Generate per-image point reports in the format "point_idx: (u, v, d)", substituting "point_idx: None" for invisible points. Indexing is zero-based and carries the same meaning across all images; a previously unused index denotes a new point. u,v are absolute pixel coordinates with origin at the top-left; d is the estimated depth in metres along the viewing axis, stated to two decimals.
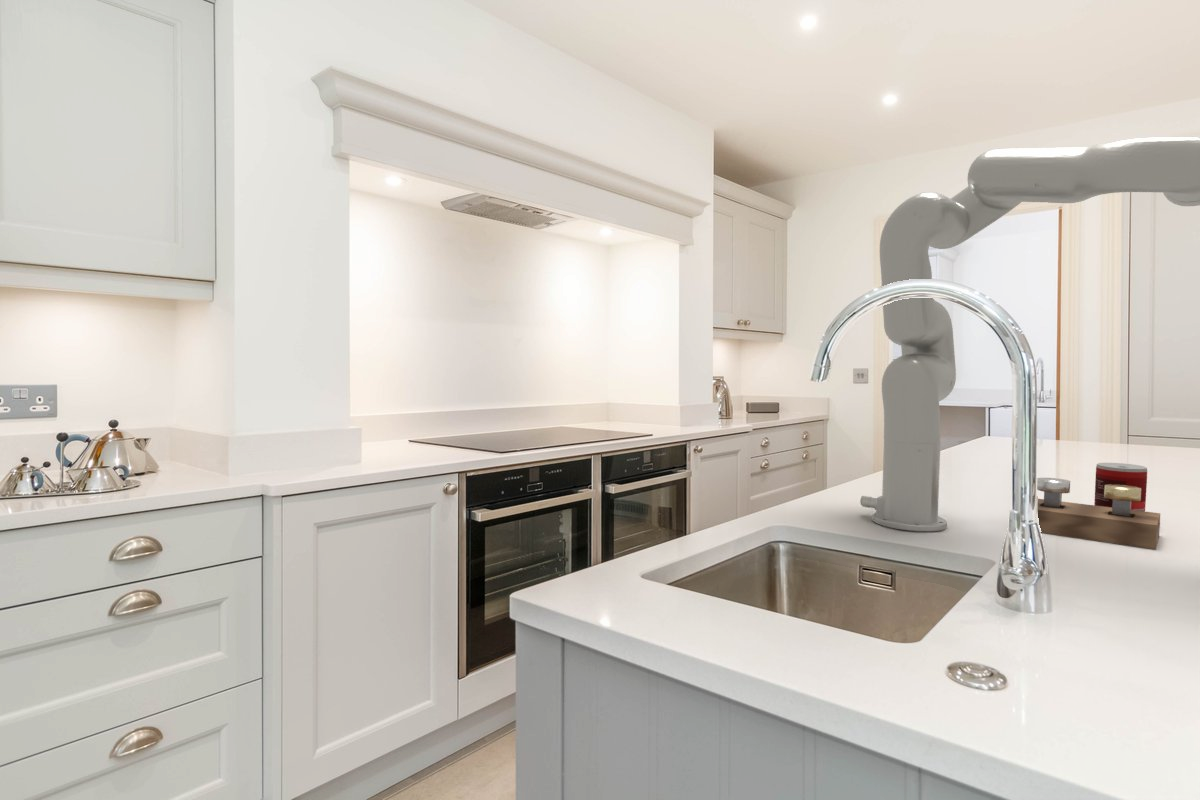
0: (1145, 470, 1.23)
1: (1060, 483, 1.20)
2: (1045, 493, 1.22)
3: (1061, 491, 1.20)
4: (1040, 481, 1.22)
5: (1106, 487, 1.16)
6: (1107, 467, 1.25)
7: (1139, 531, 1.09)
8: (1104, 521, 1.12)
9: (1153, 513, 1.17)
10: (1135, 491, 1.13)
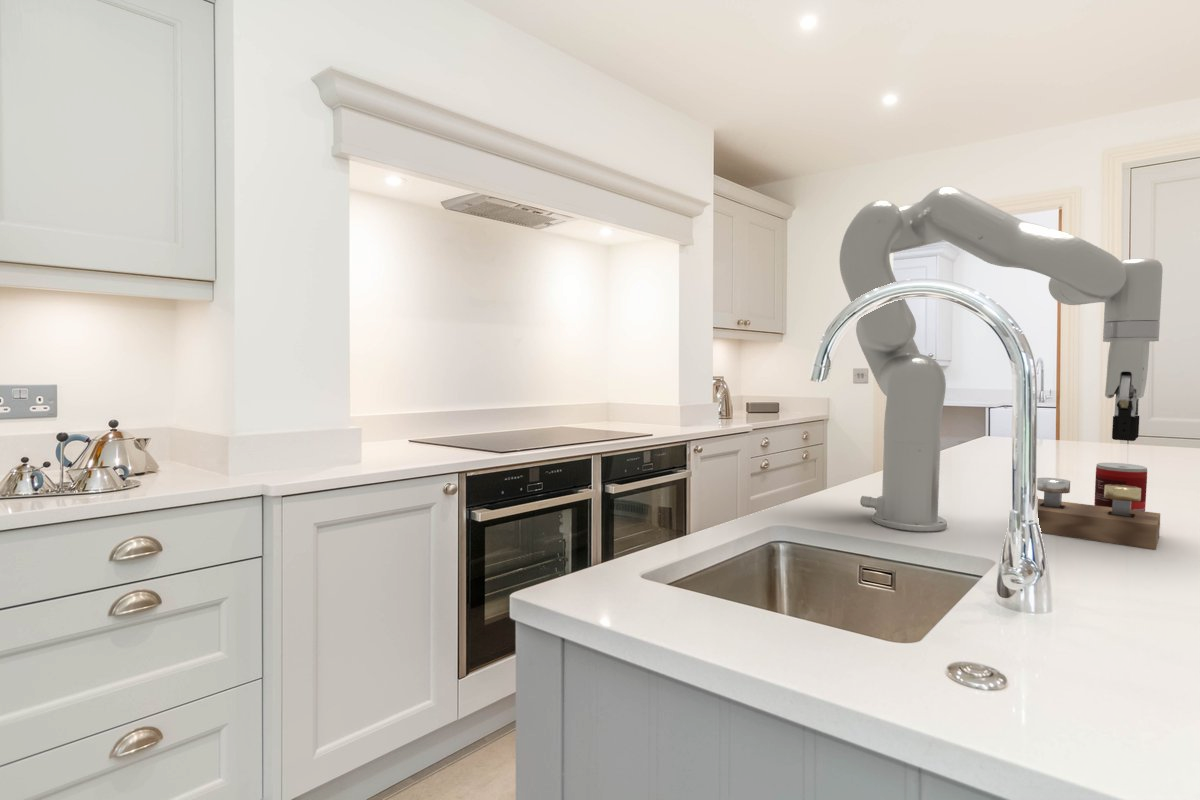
0: (1145, 470, 1.23)
1: (1060, 483, 1.20)
2: (1045, 493, 1.22)
3: (1061, 491, 1.20)
4: (1040, 481, 1.22)
5: (1106, 487, 1.16)
6: (1107, 467, 1.25)
7: (1139, 531, 1.09)
8: (1104, 521, 1.12)
9: (1153, 513, 1.17)
10: (1135, 491, 1.13)
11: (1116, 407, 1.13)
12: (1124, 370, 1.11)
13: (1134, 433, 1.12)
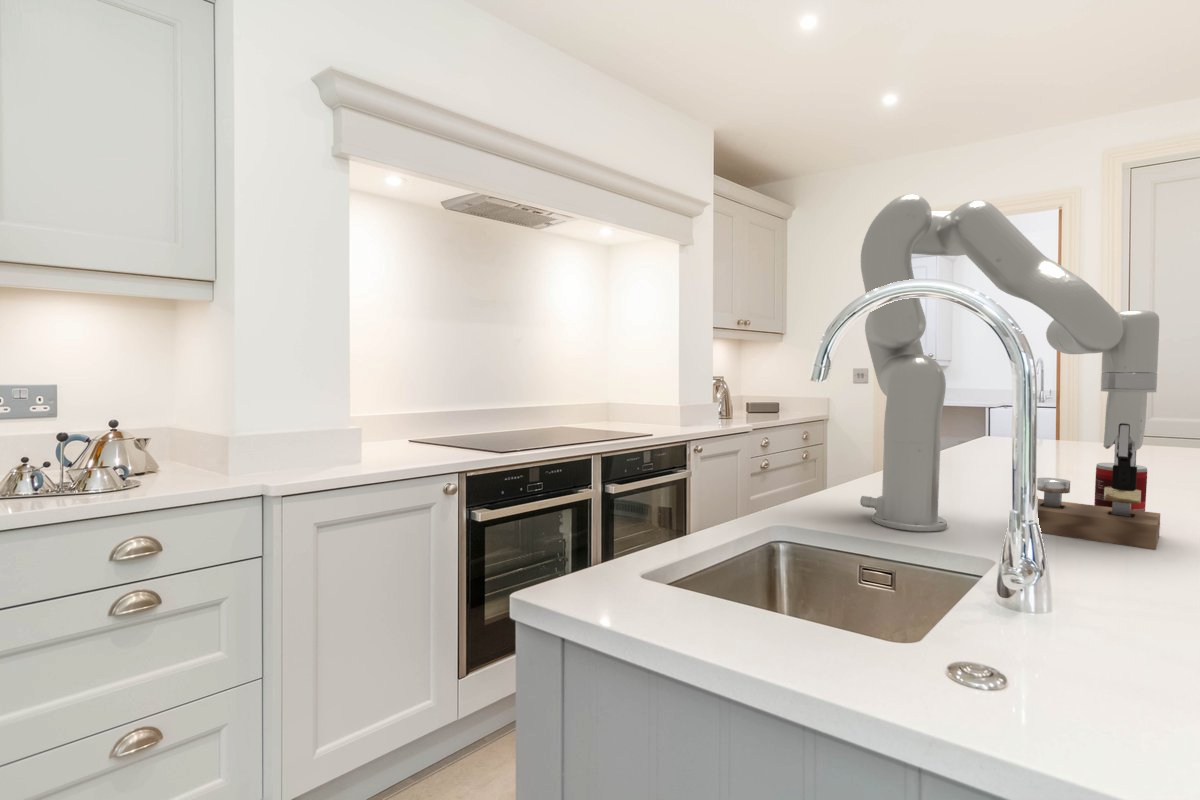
0: (1145, 470, 1.23)
1: (1060, 483, 1.20)
2: (1045, 493, 1.22)
3: (1061, 491, 1.20)
4: (1040, 481, 1.22)
5: (1106, 489, 1.16)
6: (1107, 467, 1.25)
7: (1139, 531, 1.09)
8: (1104, 521, 1.12)
9: (1153, 513, 1.17)
10: (1135, 494, 1.13)
11: (1115, 459, 1.14)
12: (1122, 421, 1.11)
13: (1134, 483, 1.14)
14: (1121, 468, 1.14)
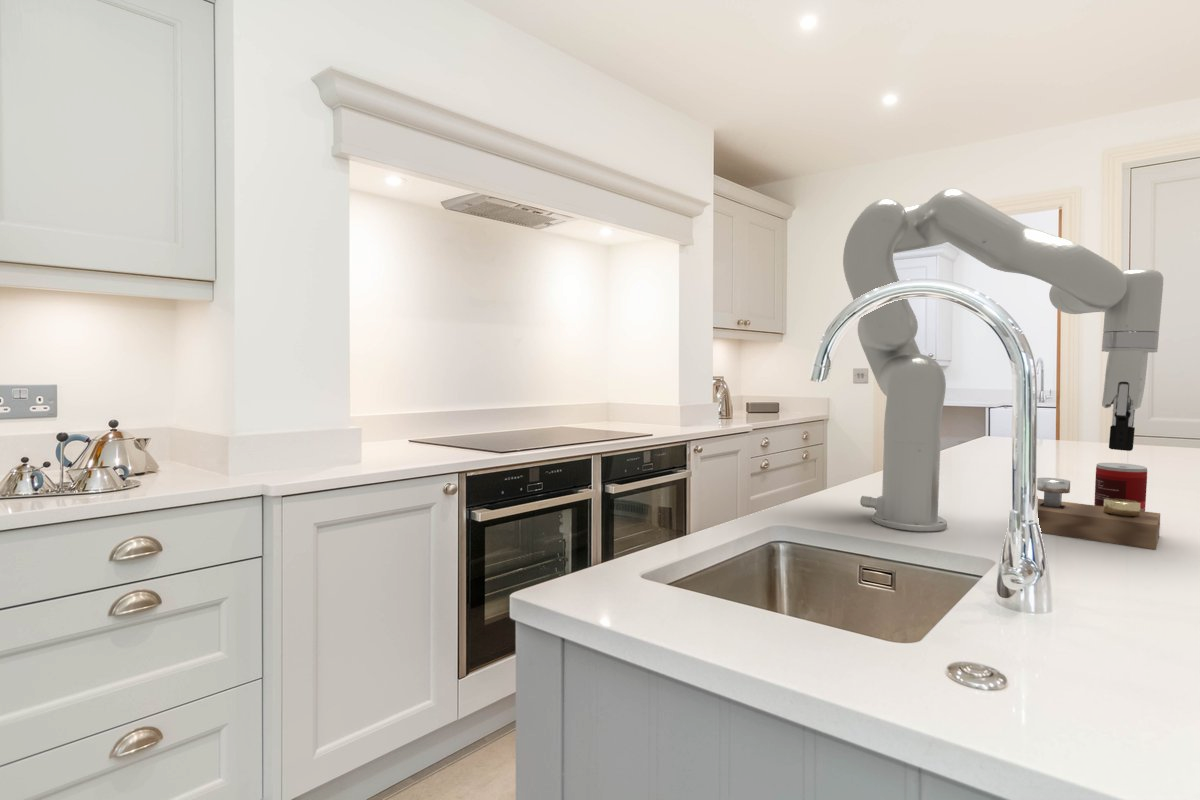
0: (1145, 470, 1.23)
1: (1060, 483, 1.20)
2: (1045, 493, 1.22)
3: (1061, 491, 1.20)
4: (1040, 481, 1.22)
5: (1105, 501, 1.16)
6: (1107, 467, 1.25)
7: (1139, 531, 1.09)
8: (1104, 521, 1.12)
9: (1153, 513, 1.17)
10: (1134, 506, 1.13)
11: (1113, 418, 1.14)
12: (1122, 380, 1.11)
13: (1131, 443, 1.14)
14: (1119, 428, 1.14)
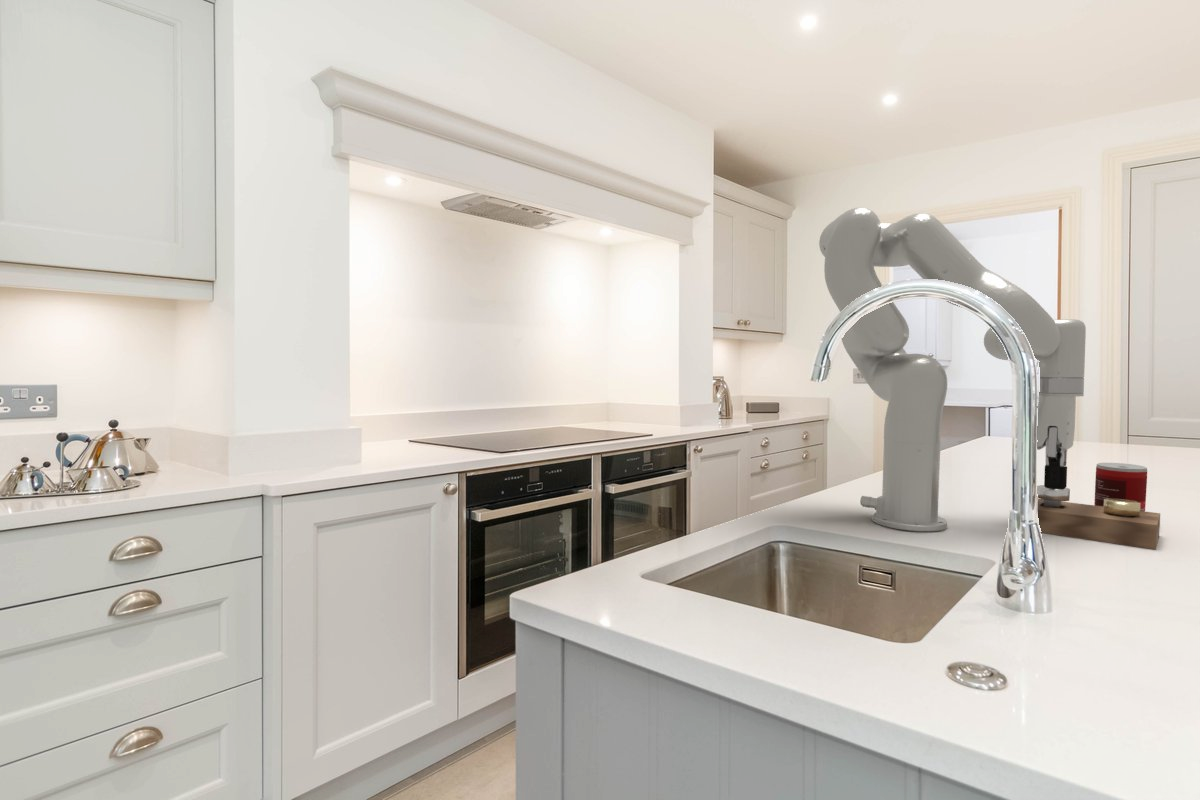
0: (1145, 470, 1.23)
1: (1060, 491, 1.20)
2: (1045, 501, 1.22)
3: (1061, 499, 1.20)
4: (1040, 489, 1.22)
5: (1105, 501, 1.16)
6: (1107, 467, 1.25)
7: (1139, 531, 1.09)
8: (1104, 521, 1.12)
9: (1153, 513, 1.17)
10: (1134, 506, 1.13)
11: (1046, 459, 1.21)
12: (1051, 424, 1.18)
13: (1063, 482, 1.21)
14: (1052, 468, 1.21)
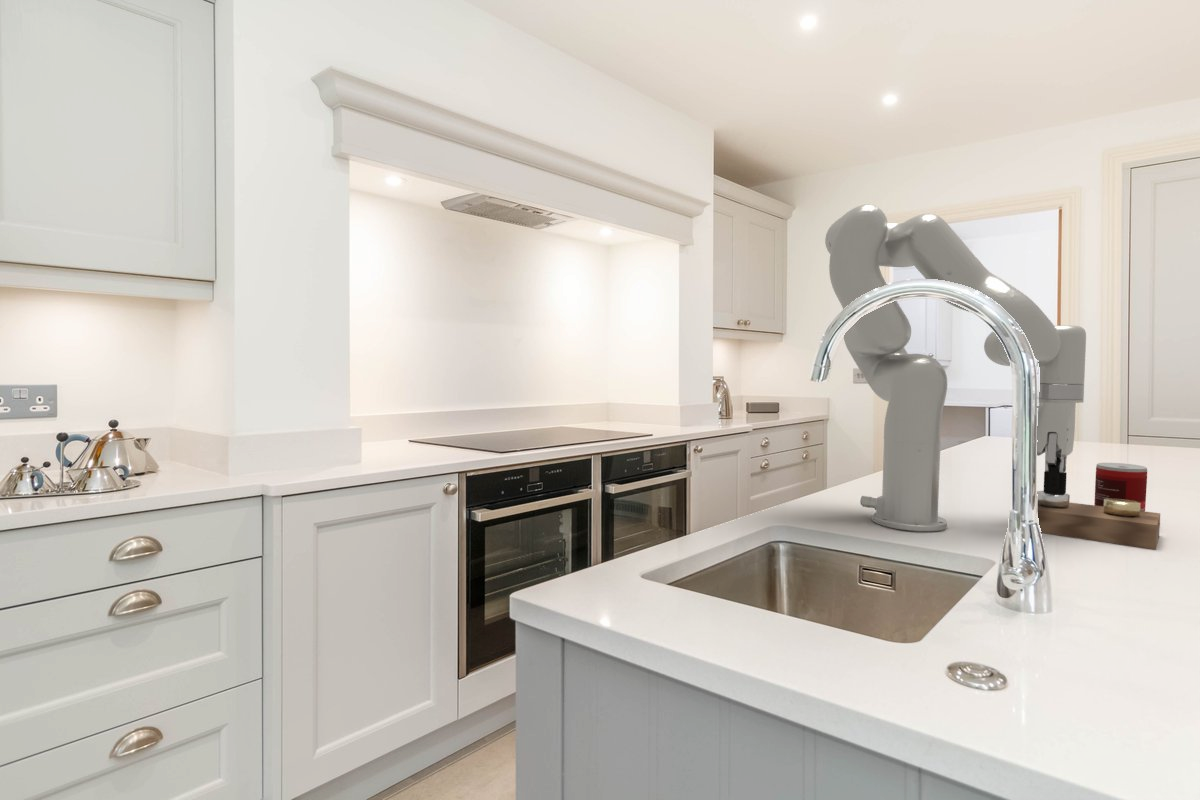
0: (1145, 470, 1.23)
1: (1059, 497, 1.20)
2: None
3: (1060, 505, 1.20)
4: (1039, 495, 1.22)
5: (1105, 501, 1.16)
6: (1107, 467, 1.25)
7: (1139, 531, 1.09)
8: (1104, 521, 1.12)
9: (1153, 513, 1.17)
10: (1134, 506, 1.13)
11: (1046, 465, 1.21)
12: (1051, 430, 1.18)
13: (1063, 488, 1.21)
14: (1051, 474, 1.21)
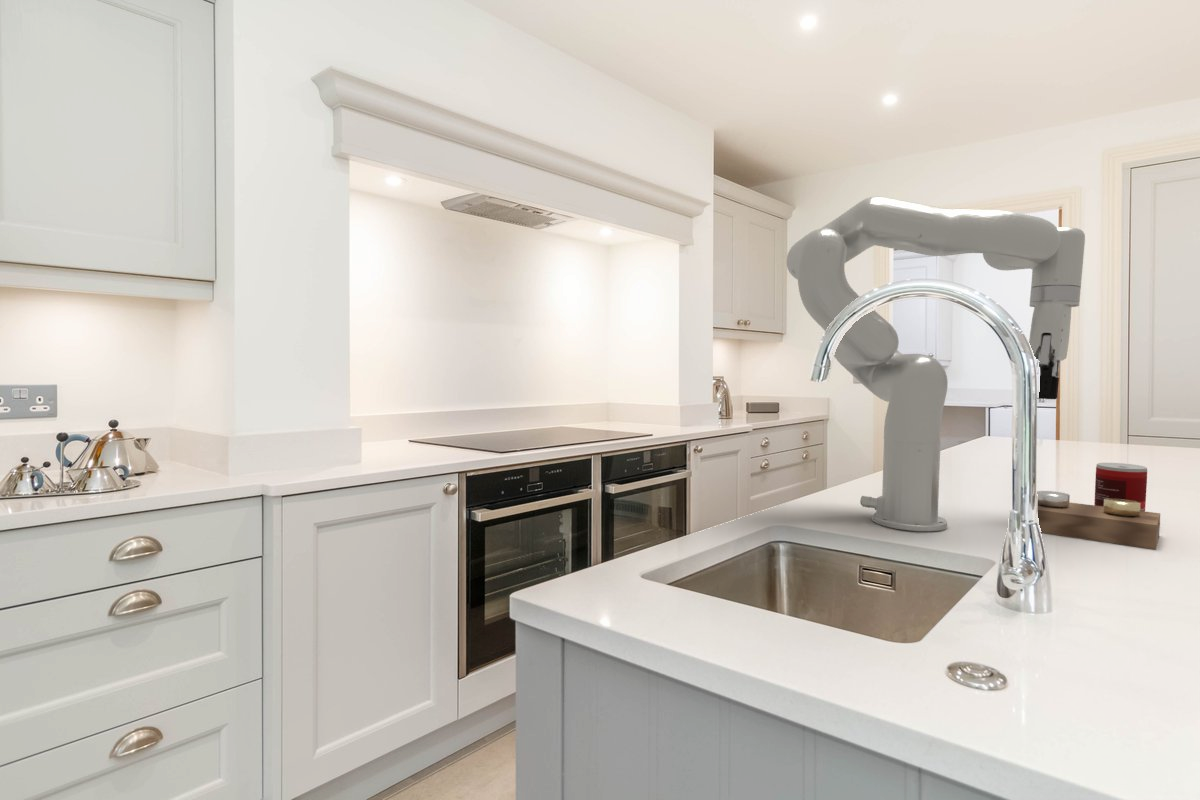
0: (1145, 470, 1.23)
1: (1059, 497, 1.20)
2: None
3: (1060, 505, 1.20)
4: (1039, 495, 1.22)
5: (1105, 501, 1.16)
6: (1107, 467, 1.25)
7: (1139, 531, 1.09)
8: (1104, 521, 1.12)
9: (1153, 513, 1.17)
10: (1134, 506, 1.13)
11: None
12: (1045, 331, 1.18)
13: (1054, 392, 1.20)
14: (1043, 378, 1.21)
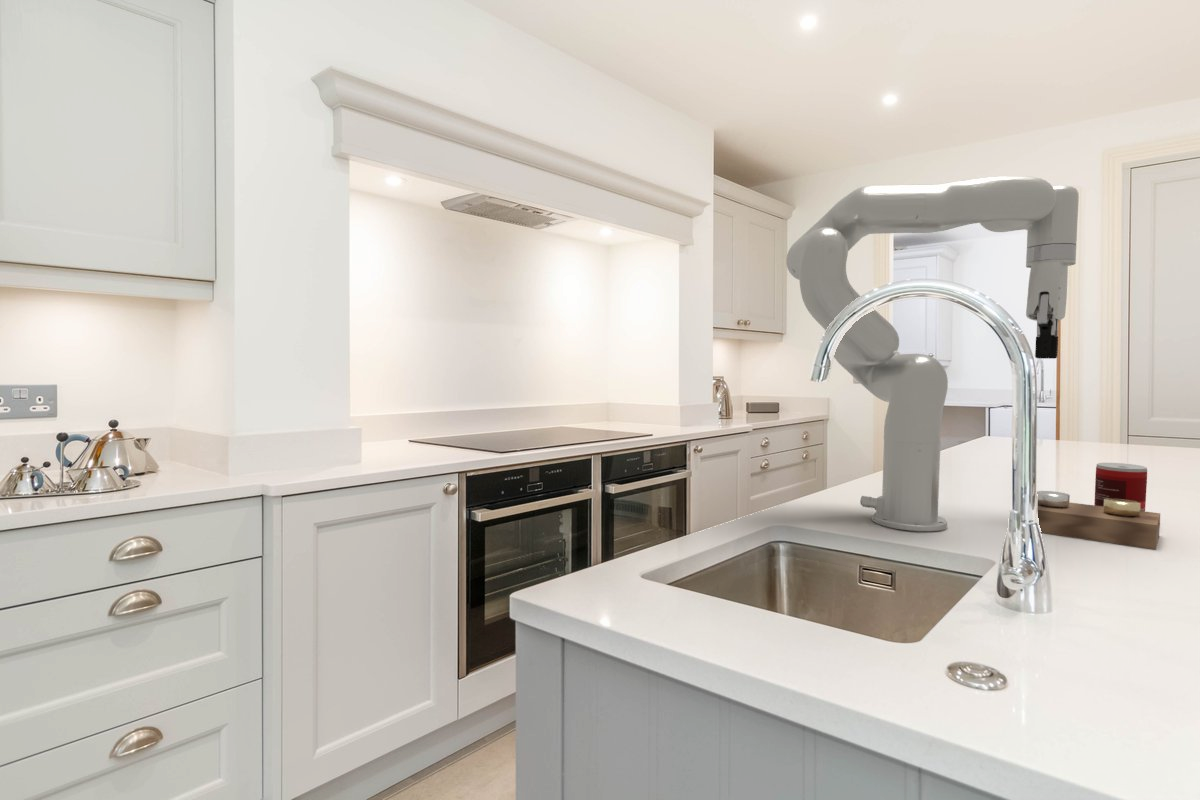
0: (1145, 470, 1.23)
1: (1059, 497, 1.20)
2: None
3: (1060, 505, 1.20)
4: (1039, 495, 1.22)
5: (1105, 501, 1.16)
6: (1107, 467, 1.25)
7: (1139, 531, 1.09)
8: (1104, 521, 1.12)
9: (1153, 513, 1.17)
10: (1134, 506, 1.13)
11: (1038, 328, 1.21)
12: (1042, 290, 1.18)
13: (1054, 351, 1.21)
14: (1043, 337, 1.21)
